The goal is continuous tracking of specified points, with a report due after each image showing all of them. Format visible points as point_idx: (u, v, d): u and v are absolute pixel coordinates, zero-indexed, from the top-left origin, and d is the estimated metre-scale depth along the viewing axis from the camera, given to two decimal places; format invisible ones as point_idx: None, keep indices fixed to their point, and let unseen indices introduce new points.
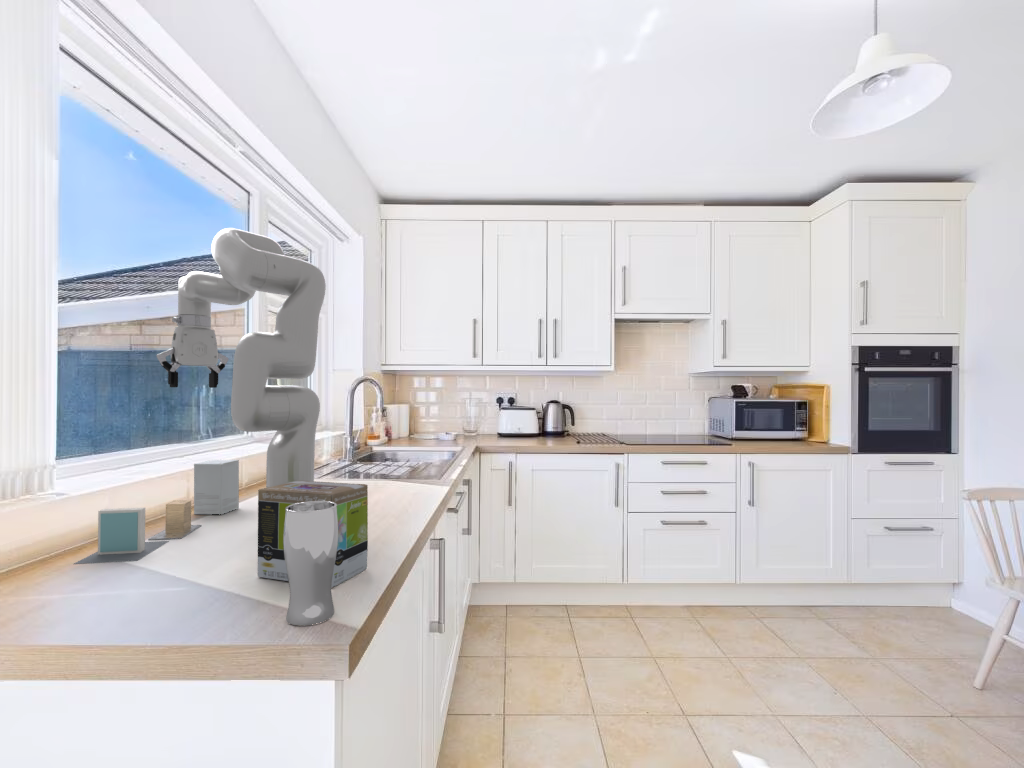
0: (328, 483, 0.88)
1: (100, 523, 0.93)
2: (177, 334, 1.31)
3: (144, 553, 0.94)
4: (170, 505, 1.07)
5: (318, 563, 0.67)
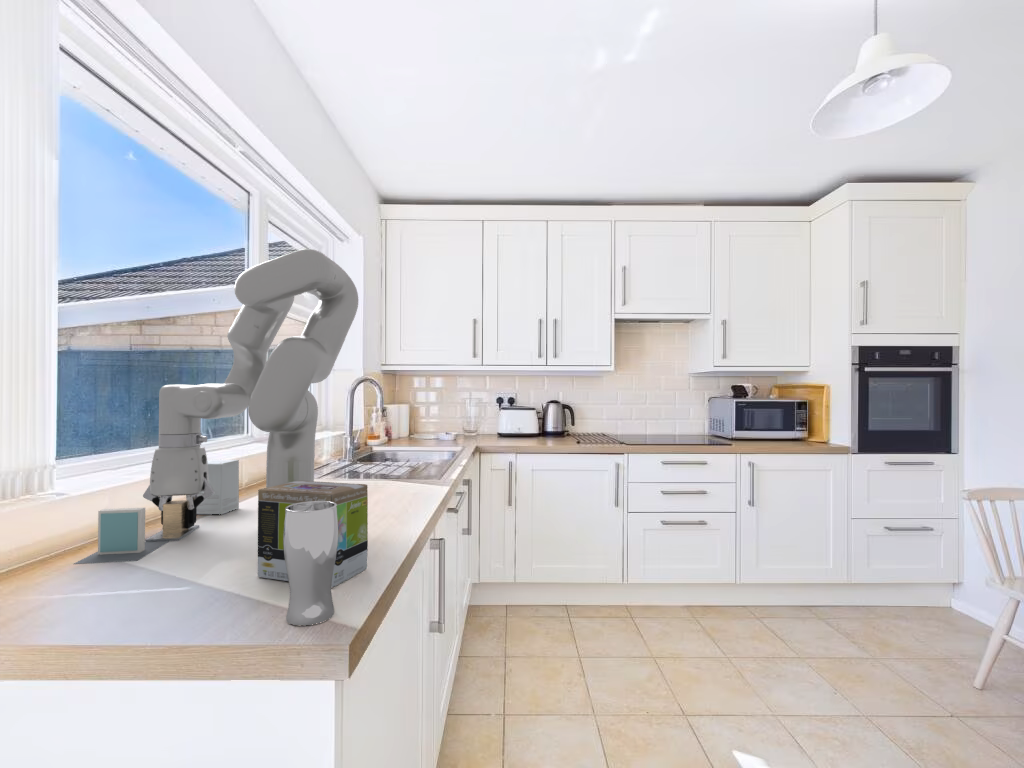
0: (328, 483, 0.88)
1: (100, 523, 0.93)
2: (206, 456, 1.11)
3: (144, 553, 0.94)
4: (167, 505, 1.06)
5: (318, 563, 0.67)
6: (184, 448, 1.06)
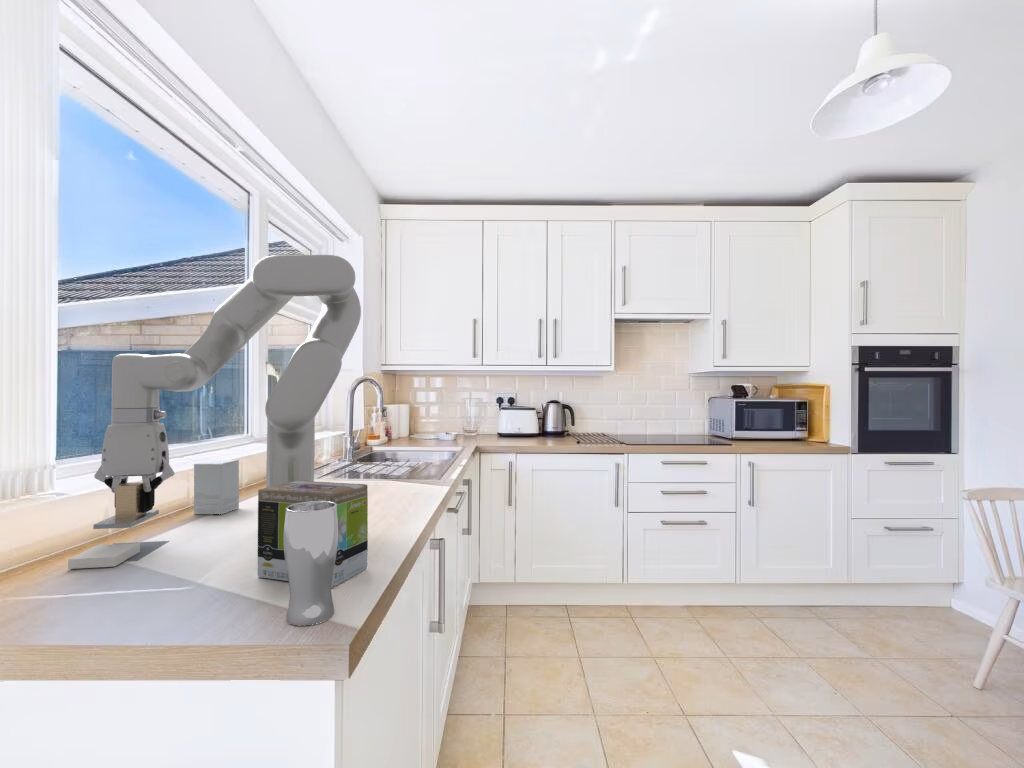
0: (328, 483, 0.88)
1: None
2: (165, 434, 1.01)
3: (144, 553, 0.94)
4: (120, 487, 0.96)
5: (318, 563, 0.67)
6: (139, 424, 0.96)
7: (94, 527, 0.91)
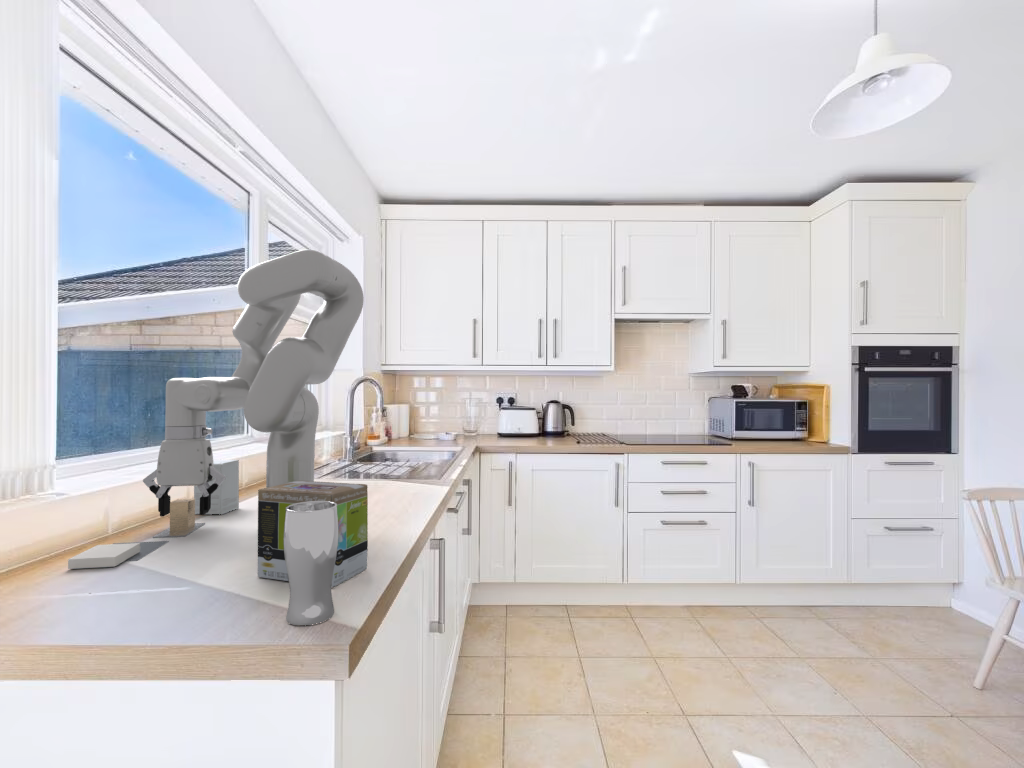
0: (328, 483, 0.88)
1: None
2: (211, 448, 1.14)
3: (144, 553, 0.94)
4: (174, 503, 1.08)
5: (319, 563, 0.67)
6: (190, 440, 1.09)
7: None
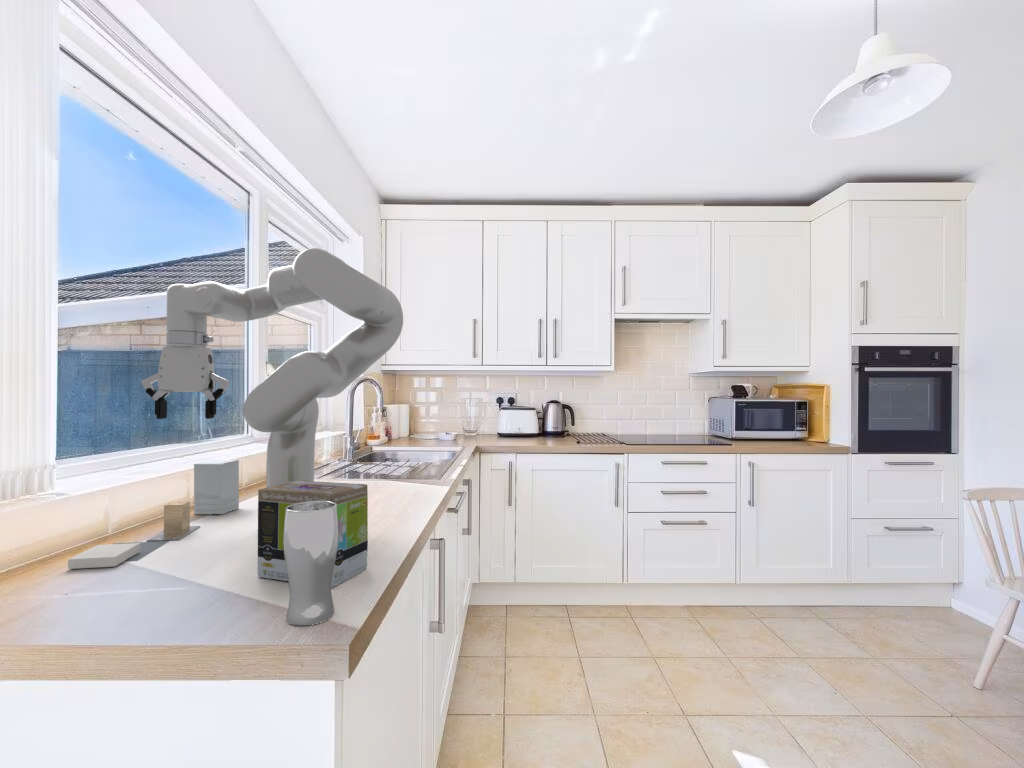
0: (328, 483, 0.88)
1: None
2: (212, 357, 1.14)
3: (144, 553, 0.94)
4: (168, 506, 1.06)
5: (318, 563, 0.67)
6: (191, 345, 1.10)
7: None
